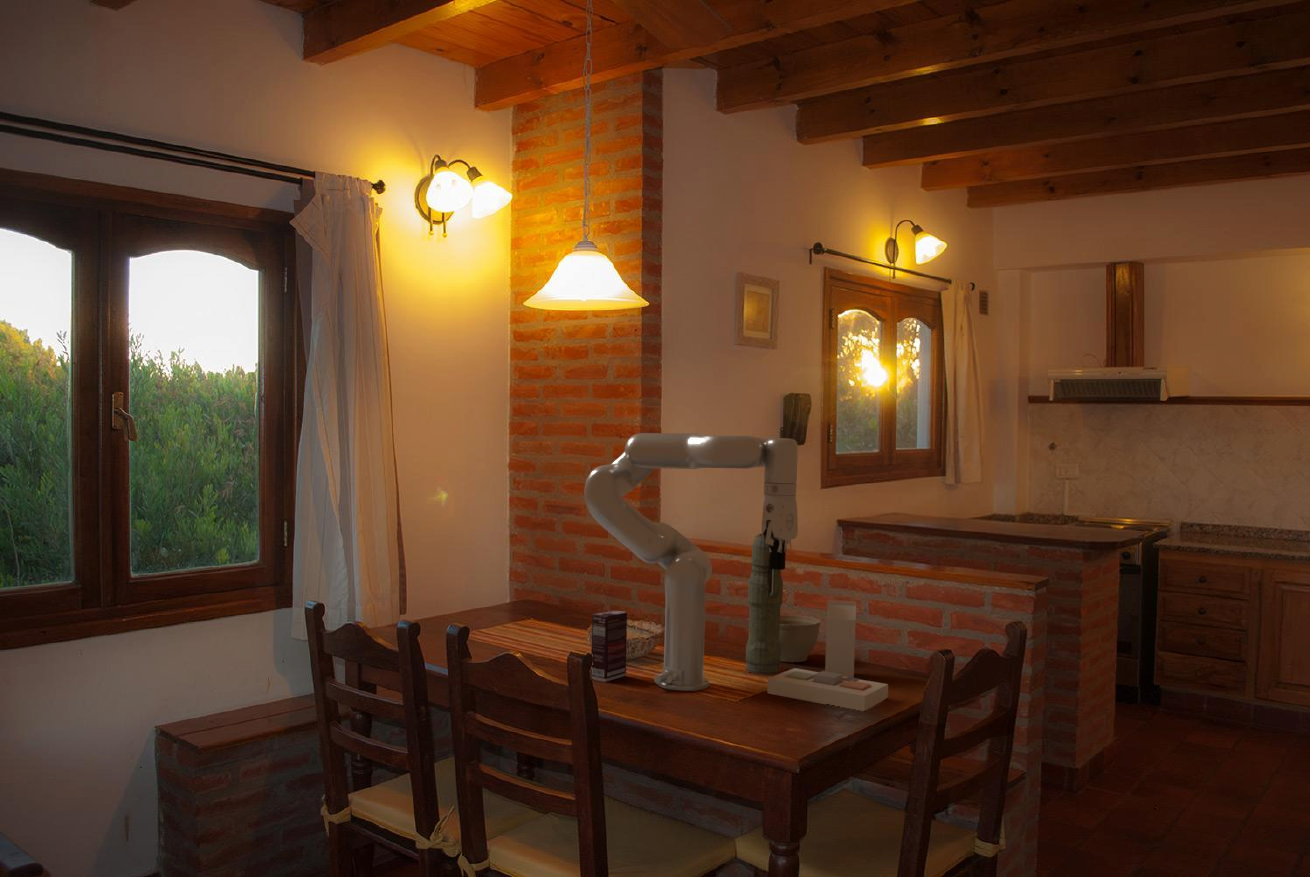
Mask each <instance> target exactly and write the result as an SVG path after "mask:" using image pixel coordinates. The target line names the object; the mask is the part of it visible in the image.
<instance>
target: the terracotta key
mask: <svg viewBox="0 0 1310 877" xmlns="http://www.w3.org/2000/svg"><path fill="white" fill-rule="evenodd" d="M841 687H844V688H849V689H855V690H861V691H864V690H866V689H868V688H870V687H871V684H867V683H861V682H855V681H848V682H846V683H844V684H842V685H841Z"/></svg>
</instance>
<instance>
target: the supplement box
mask: <svg viewBox="0 0 1310 877" xmlns="http://www.w3.org/2000/svg"><path fill="white" fill-rule="evenodd" d="M591 623H592V624H591V652H590V653H591V654H593V665H592V669H591V668H590V676H591V675H592V679H593V681H597V682H602V683H607V682H610V681H614V680H618V679H620V678H623V677H626V676H627V635H628V630H627V629H628V612H627V611H624V610H623V611H622V610H608V611H603V612H598V613H592V617H591ZM592 679H591V680H592Z"/></svg>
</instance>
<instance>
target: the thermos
mask: <svg viewBox="0 0 1310 877" xmlns="http://www.w3.org/2000/svg"><path fill="white" fill-rule="evenodd" d="M765 541H766V539H765V538H763V536H762V533H758V535H755V537H754V539H753V543H752V545H751V546H752V548H751V572H750V573H751V574H750V577H749V579H748V589H747V590H748V592H747V593H748V594H747V595H748V596H747V602H748V606H749V612H748V614H749V615H748V616H749V617H748V639H747V642H746V645H745V663H746V667H745V671H746V670H747V671H749V672H751V673H750V674H753V673H754V674H753V675H758V674H762V675H761V676H772V675H771V674H775V675H777V674H776V673H778V674H780V670H781V669H780V664H781V662H782V661H781V644H780V641H779V630H780V615H781V607H782V605H783V595H784V594H783V593H784V581H783V579H782V570H776V569H770V551H769V546H768V545H766V544H765ZM747 671H746V672H747ZM749 672H748V673H749Z"/></svg>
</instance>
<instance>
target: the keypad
mask: <svg viewBox="0 0 1310 877" xmlns="http://www.w3.org/2000/svg"><path fill="white" fill-rule="evenodd" d="M795 671H798V672H803V673H809V674H816V673H819V672H820V671H814V670H808V669H802V668H797V667H796V668H795V667H793V668H792V669H789V670H786V671H783V672H781V673H778V674H775V675H773V676H770V677H768V678H767V690H766V692H767V694H771V695H774V696H780V697H786V698H790V699H796V700H800V701H807V702H811V703H817V704H822V705H826V704H830V705H829V706H831V705H835V706H834V707H837V706H840V707H839V708H842V707H846V708H845V709H847V708H851V709H850V710H852V709H856V710H855V711H857V710H862V711H861V712H863V711H865V710H867V709H868V708H870V707H871V706H873V705H874V704H877V703H879V702H881V701H882V700H884V699H886V698H887V697H888V698H889V684H888V683H882V682H878V681H873V680H872V681H871V680H864V679H860V678H856V677H854V678H851V677H846V676H842V683H840V684H837V685H835V686H833V685H827V684H822V683H816V682H813V678H812V679H810V680H807V681H805V680H799V679H794V678H788V677H786V675H787V674H790V673H792V672H795ZM848 681H855V682H861V683H867V684H871V687H870V688H868V689H866V690H864V691H861V690H855V689H849V688H844V687H841V685H842V684H844V683H846V682H848ZM870 709H871V708H870ZM867 711H868V710H867ZM865 712H866V711H865Z"/></svg>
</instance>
